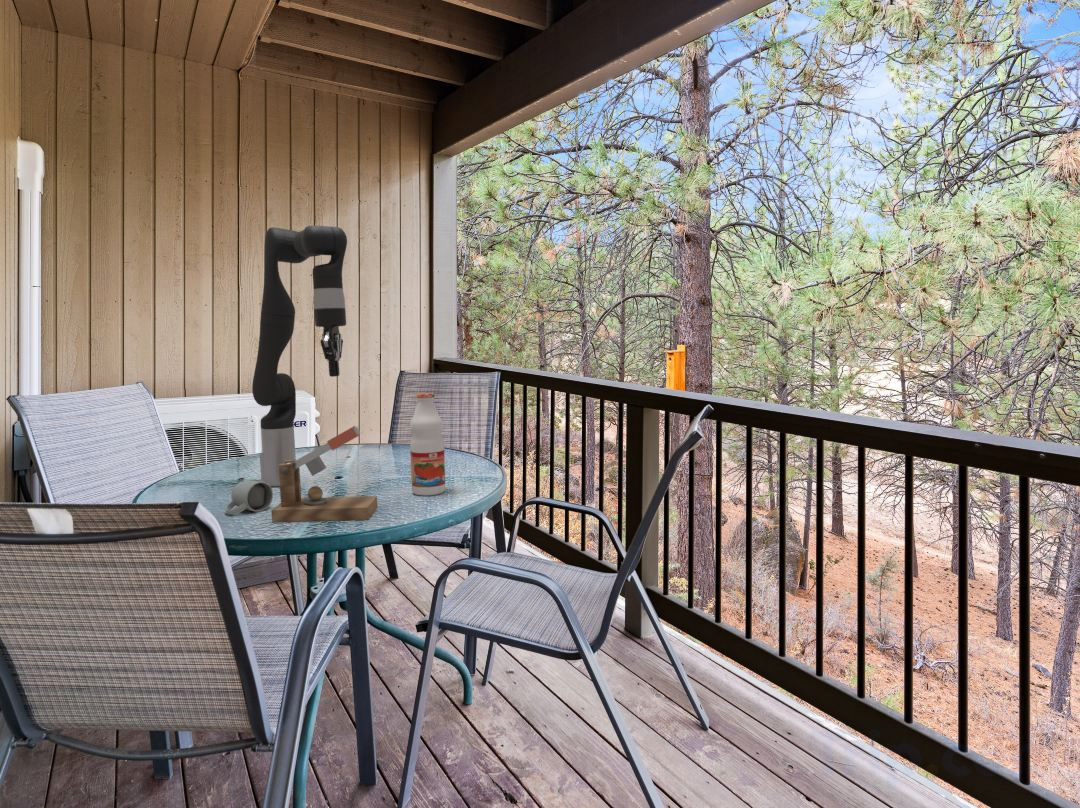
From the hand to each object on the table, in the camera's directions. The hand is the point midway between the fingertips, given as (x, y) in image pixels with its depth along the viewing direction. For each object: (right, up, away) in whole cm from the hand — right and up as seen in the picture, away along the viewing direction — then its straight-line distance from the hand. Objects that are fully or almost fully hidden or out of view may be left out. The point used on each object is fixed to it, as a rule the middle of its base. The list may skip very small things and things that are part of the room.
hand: (334, 376), depth 169 cm
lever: (0, -22, -4) cm, 23 cm away
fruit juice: (+21, -32, +19) cm, 43 cm away
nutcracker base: (-1, -35, -2) cm, 35 cm away
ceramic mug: (-23, -35, +3) cm, 42 cm away
